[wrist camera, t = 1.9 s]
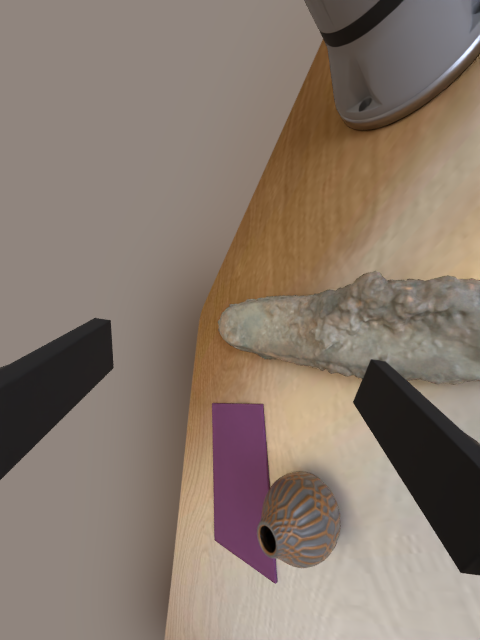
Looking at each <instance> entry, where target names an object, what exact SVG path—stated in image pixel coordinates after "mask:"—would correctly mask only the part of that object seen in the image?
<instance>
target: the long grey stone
mask: <svg viewBox="0 0 480 640" xmlns="http://www.w3.org/2000/svg"><path fill="white" fill-rule="evenodd" d="M218 324H219V332H220V334H221V336H222V337H223V339H224V340H225V341H226V342H227V343H229V345H232V346H233V347H234V348H236V349H240V350H241V351H247V352H253V353H256V354H258V355H259V356H261V357H262V358H264V359H280V360H284V361H287V362H291V363H295V364H297V365H305V366H310V367H313V368H319V369H320V370H321V371H323V370H324V369H327V370H328V371H329V373H331V374H332V373H339V374H342V375H344V376H351V375H355V376H356V377H358V378H362V379H363V377H364V375H365V372H366V370H367V367H368V365H369V362H370V360H371V359H374V360H380V361H386V362H387V363H388V364H389V365H390V366H391V367H392V368H394V369H395V370H396V371H397V372H398V373H399V374H400V375H401V376H402V377H403V378H405V379H406V380H413V379H421V380H425V381H429V382H432V383H435V384H440V383H449V384H460V383H464V382H468V381H475V380H477V381H480V280H476V279H472V278H471V279H457V278H456V277H454V276H442V277H439V278H435V279H431V280H427V281H423V280H419V279H418V280H414V279H407V280H406V281H405V280H386V279H385V278H384V277H383V276H381V274H380V273H379V272H377V271H374V272H370V273H366V274H363V275H362V276H360V277H359V278H358V279H357V280H356V281H355V282H354V283H353V284H350V285H347V286H345V287H343V288H338V289H337V290H335V291H334V290H326V291H324V292H322V293H320V294H314V295H309V296H296V295H294V296H274V297H273V296H270V297H269V296H267V297H265V298H259V299H257V300H256V299H247V300H246V301H245V302H241V303H239V304H230V307H228V308H226V310H225V311H224V312H223V313H222V315H221V318H220V320H219V321H218Z"/></svg>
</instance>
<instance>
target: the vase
mask: <svg viewBox="0 0 480 640" xmlns="http://www.w3.org/2000/svg"><path fill="white" fill-rule="evenodd" d="M339 532H340V513H339V509H338V505H337V503H336V500H335V498H334V496H333V494H332V492H331V491H330V489H329V488H328V487H327V486H326V485H325V484H324V483H323V482H322V481H321V480H320V479H319V478H317V477H316V476H314V475H312V474H309V473H306V472H292V473H289V474H286V475H284V476H282V477H280V478H279V479H278V480H277V481H275V482H274V484H273V485H272V486H271V487H270V489H269V490H268V492H267V494H266V496H265V499H264V502H263V508H262V515H261V520H260V522H259V524H258V527H257V538H258V542H259V545H260V547H261V549H262V551H263V552H264V553H265V555H267V556H268V557H269V558H278V559H280V560H282V561H284V562H285V563H287V564H289V565H291V566H294V567H298V568H307V567H312V566H315V565H317V564H319V563H321V562H322V561H324V560H325V559H326V558H327V557H328V556H329V555H330V553H331V552H332V551H333V549H334V547H335V545H336V543H337V540H338V537H339Z"/></svg>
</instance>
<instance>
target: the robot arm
mask: <svg viewBox="0 0 480 640" xmlns="http://www.w3.org/2000/svg"><path fill="white" fill-rule="evenodd" d="M304 1H305V3H306V5H307V7H308V9H309V11H310V13H311V15H312V17H313V19H314V21H315V23H316V25H317V27H318V29H319V31H320V33H321V35H322V37H323V39H324V41H325V43H326V46H327V48H328V55H329V62H330V70H331V78H332V85H333V93H334V100H335V104H336V108H337V111H338V112H339V114H340V116H341V118H342V119H343V121H344V123H345V124H346V125H347V126H349V127H351V128H353V129H356V130H370V129H376V128H380V127H383V126H386V125H388V124H391V123H393V122H395V121H397V120H399V119H402V118H403V117H405V116H407V115H409V114H411V113H412V112H414V111H415V110H417V109H419V108H420V107H422V106H423V105H424V104H426V103H427V102H429V101H430V100H431V99H433V98H434V97H435V96H437V95H438V94H439V93H440V92H441V91H443V90H444V89H445V88H446V87H447V86H449V85H450V84H451V83H452V82H453V81H454V80H455V79H456V78H457V77H458V76H459V75H460V74H461V73H462V72H463V71H464V70H465V69H466V68H467V67H468V66H469V65H470V64H471V63H472V62H473V61H474V60H475V58H476V57H477V56H478V55H479V54H480V0H304ZM112 369H113V352H112V335H111V321H110V320H104V319H97V318H94V319H92V320H90V321H89V322H87V323H85V324H83V325H81V326H79V327H77V328H76V329H74V330H72V331H70V332H68V333H67V334H65V335H63V336H61V337H59V338H57V339H56V340H53V341H52V342H50V343H48V344H46V345H44V346H42V347H41V348H39V349H37V350H35V351H33V352H31V353H30V354H28V355H26V356H24V357H22V358H20V359H19V360H17V361H15V362H13V363H11V364H9V365H6V366H3V367H1V368H0V480H1V479H2V478H3V477H4V476H5V475H6V474H7V473H8V472H9V471H10V470H11V469H12V468H13V467H14V466H15V465H16V464H17V463H18V462H19V461H20V460H21V459H22V458H23V457H24V456H25V455H26V454H27V453H28V452H29V451H30V450H31V449H32V448H33V447H34V446H35V445H36V444H37V443H38V442H39V441H40V440H41V439H42V438H43V437H44V436H45V435H46V434H47V433H48V432H49V431H50V430H51V429H52V428H53V427H54V426H55V425H56V424H57V423H58V422H59V421H60V420H61V419H62V418H63V417H64V416H65V415H66V414H67V413H68V412H69V411H70V410H71V409H72V408H73V407H74V406H76V404H78V403H79V402H80V401H81V400H82V398H83V397H85V396H86V394H88V393H89V392H90V391H91V390H92V388H94V387H95V386H96V385H97V384H98V383H99V382H100V381H101V380H102V379H103V378H104V377H105V375H107V374H108V373H109V372H110V371H111V370H112ZM353 403H354V405H355V406H356V408H357V409H358V411H359V413H360V414H361V416H362V417H363V419H364V420H365V422H366V424H367V425H368V427H369V428H370V430H371V432H372V433H373V435H374V436H375V438H376V439H377V441H378V443H379V444H380V446H381V447H382V449H383V451H384V452H385V454H386V455H387V457H388V458H389V460H390V462H391V463H392V465H393V466H394V468H395V469H396V471H397V473H398V474H399V476H400V477H401V479H402V481H403V482H404V484H405V485H406V487H407V488H408V490H409V492H410V493H411V495H412V496H413V498H414V500H415V501H416V503H417V504H418V506H419V507H420V509H421V511H422V512H423V514H424V515H425V517H426V519H427V520H428V522H429V523H430V525H431V526H432V528H433V530H434V531H435V533H436V534H437V536H438V538H439V539H440V541H441V542H442V544H443V545H444V547H445V549H446V550H447V552H448V553H449V555H450V556H451V558H452V560H453V561H454V563H455V564H456V566H457V568H458V569H459V571H460V572H461V573H466V574H474V575H480V444H479V443H478V442H477V441H476V440H474V439H473V438H471V437H470V436H468V435H467V434H465V433H464V432H463V431H462V430H460V429H459V428H458V427H457V426H456V425H455V424H454V423H453V422H452V421H451V420H450V419H448V418H447V417H446V416H445V415H444V414H443V413H442V412H441V411H440V410H439V409H437V408H436V407H435V406H434V405H433V404H432V403H431V402H430V401H429V400H428V399H426V398H425V397H424V396H423V395H422V394H421V393H420V392H419V391H418V390H417V389H415V388H414V387H413V386H412V385H411V384H410V383H409V382H408V381H407V380H406V379H405V378H403V377H402V376H401V375H400V374H399V373H398V372H397V371H396V370H395V369H394V368H392V367H391V366H390V365H389V364H388V363H387V362H386V361H380V360H374V359H371V360H370V362H369V365H368V367H367V370H366V372H365V375H364V377H363V379H362V382H361V384H360V387H359V389H358V392H357V394H356V396H355V399H354V401H353Z"/></svg>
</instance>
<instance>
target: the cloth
mask: <svg viewBox="0 0 480 640" xmlns="http://www.w3.org/2000/svg"><path fill="white" fill-rule="evenodd" d="M212 423H213V479H214V536H215V541H216V542H218V543H219V544H221V545H222V546H223V547H225V548H226V549H228V550H229V551H230V552H232V553H233V554H235V555H236V556H237V557H239V558H240V559H242V560H243V561H244V562H246V563H247V564H249V565H250V566H251V567H253V568H254V569H255V570H257V571H258V572H260V573H261V574H262V575H264V576H265V577H267V578H268V579H269V580H271V581H272V582H274V583H275V584H276V583H277V572H276V560H275V558H269V557H268V556H267V555H265V553H264V552H263V551H262V549H261V547H260V545H259V542H258V538H257V527H258V524H259V522H260V520H261V515H262V508H263V502H264V499H265V496H266V494H267V492H268V490H269V489H270V484H269V471H268V459H267V446H266V434H265V421H264V408H263V404H228V403H212Z"/></svg>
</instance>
